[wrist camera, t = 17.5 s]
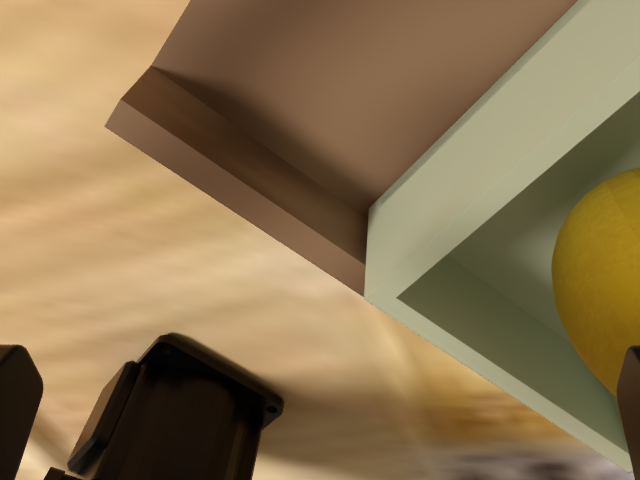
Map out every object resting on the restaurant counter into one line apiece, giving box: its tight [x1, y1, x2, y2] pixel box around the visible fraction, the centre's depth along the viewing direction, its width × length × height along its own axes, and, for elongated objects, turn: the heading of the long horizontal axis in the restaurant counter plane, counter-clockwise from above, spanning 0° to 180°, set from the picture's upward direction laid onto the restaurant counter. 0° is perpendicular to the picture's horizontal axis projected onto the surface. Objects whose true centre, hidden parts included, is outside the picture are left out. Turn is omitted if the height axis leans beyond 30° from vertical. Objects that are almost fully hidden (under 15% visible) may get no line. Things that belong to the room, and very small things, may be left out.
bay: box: [104, 0, 578, 297], centre depth 17 cm, size 21×14×4 cm, turn 53°
